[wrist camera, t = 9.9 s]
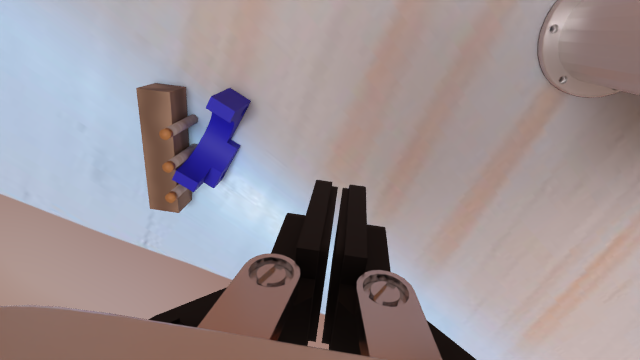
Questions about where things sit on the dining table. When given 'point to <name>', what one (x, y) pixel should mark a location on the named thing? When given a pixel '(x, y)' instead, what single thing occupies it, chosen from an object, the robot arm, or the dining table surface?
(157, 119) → the peg rack
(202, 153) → the blue curved cradle
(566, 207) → the dining table surface
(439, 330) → the robot arm
